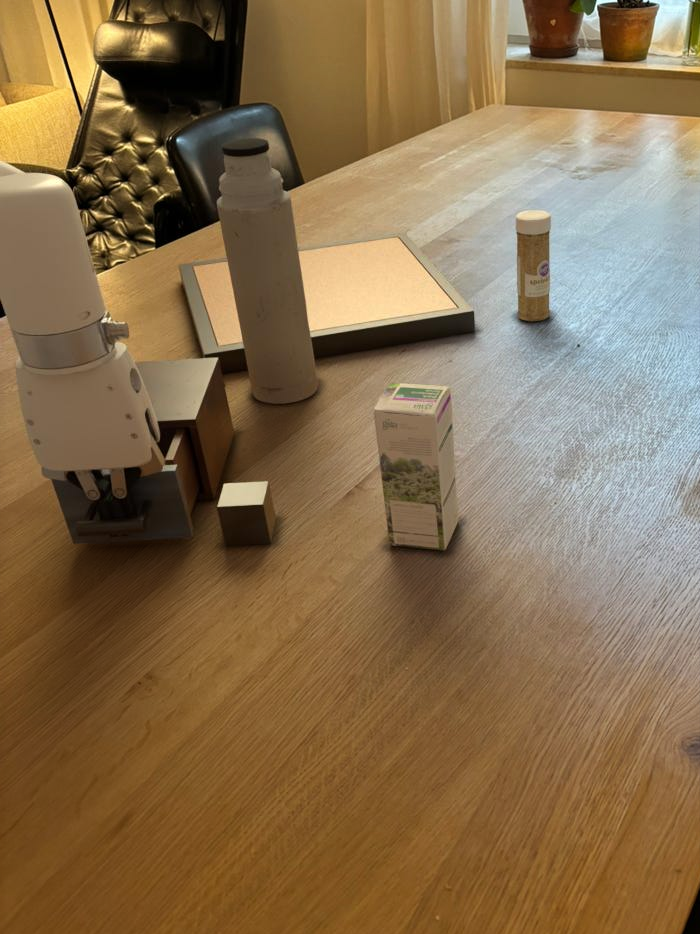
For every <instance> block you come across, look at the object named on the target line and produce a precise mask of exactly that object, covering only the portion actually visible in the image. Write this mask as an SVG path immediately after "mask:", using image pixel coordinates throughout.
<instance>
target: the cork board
mask: <svg viewBox="0 0 700 934" xmlns="http://www.w3.org/2000/svg"><path fill="white" fill-rule="evenodd" d="M298 252H299V259H300V265H301V272H302V279H303V286H304V293H305V300H306V308H307V316H308V323H309V329H310V335H311V341H312V348H313V354H314V359H319V358H324V357H325V358H326V357H330V356H331V357H333V356H338V355H342V354H349V353H355V352H361V351H367V350H372V349H380V348H385V347H390V346H396V345H397V346H398V345H402V344H403V345H404V344H410V343H415V342H421V341H427V340H433V339H439V338H445V337H451V336H457V335H464V334H469V333H475V332H476V323H475V322H476V321H475V318H476V317H475V311H474V309H473V308H472V307H471V306H470V305H469V304H468V303H467V301H466V300H465V299H464V297H462V295H461V294H460V293H459V292H458V291H457V290H456V289H455V288H454V287H453V285H452V283H450V282H449V281H448V279H446V277H445V276H444V275H443V274H442V273H441V272H440V271H439V269H438V268H437V267H436V265H434V264H433V262H431V260H430V259H429V257H427V256H426V254H425V253H424V252H423V251H422V250H421V249H420V247H418V246H417V244H416V243H415V242H414V240H412V239H411V238H410V236H409V235H408V234H407V232H400V233H399V232H397V233H392V234H385V235H377V236H370V237H364V238H363V237H362V238H357V239H349V240H343V241H336V242H335V241H334V242H328V243H322V244H315V245H314V244H313V245H307V246H300V247H299V246H298ZM177 266H178V271H179V275H180V279H181V285H182V287H183V291H184V294H185V298H186V301H187V305H188V308H189V312H190V316H191V318H192V322H193V326H194V329H195V333H196V337H197V341H198V344H199V347H200V350H201V354H202V358H217V357H218V358H219V362H220V367H221V371H222V375H223V374H229V373H235V372H240V371H241V372H242V371H248V366H247V361H246V356H245V351H244V345H243V340H242V335H241V330H240V324H239V319H238V314H237V308H236V303H235V298H234V293H233V287H232V282H231V277H230V272H229V266H228V261H227V257H223V258H216V259H208V260H200V261H195V262H187V263H181V264H178V265H177Z"/></svg>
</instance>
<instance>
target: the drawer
mask: <svg viewBox="0 0 700 934" xmlns="http://www.w3.org/2000/svg"><path fill="white" fill-rule="evenodd" d="M159 431H160V440H159V442H157V443H156V444H157V446H158V447H159V449H160V451H161V453H162V455H163V457H164V458H165V465H164V467H163V470H162V471H160V472H157V473H154V474H151V475H147V476H141V477H140V478H139V479H138V480H137V482H136V483H135V484H134V485H133V487H132V488H131V492H132V495H133V499H134V502H135V505H136V509H137V513H138V518H130V519H112V520H100V517H99V514H98V511H97V508H96V505H95V502H94V500H91V499H89V498H88V497H87V495H86V493H85V491H83V490H81V489H80V488H78V487H77V486H75V485H74V484H72V483H70V482H69V481H68V480H65V481H62V480H55V479H50V480H51V483H52V486H53V488H54V491H55V495H56V497H57V500H58V503H59V506H60V509H61V512H62V515H63V517H64V520H65V523H66V526H67V530H68V532H69V535H70V538H71V540H72V544H74V545H78V544H79V545H80V544H94V543H95V544H96V543H97V544H98V543H113V542H132V541H133V542H134V541H150V540H151V541H152V540H167V539H170V540H171V539H184V538H186V539H188V538H193V535H194V532H195V529H194V524H193V522H192V517H191V515H192V512H193V509H194V506H195V503H196V501H197V500H196V497H197V494H198V491H199V488H200V485H201V482H202V479H201V475H200V471H199V466H198V462H197V458H196V454H195V450H194V445H193V441H192V437H191V433H190V429H189V427H176V428H159ZM103 472H104V474H105V476H106V478H107V481H108V482H109V483H111V475H110V469H103ZM123 534H129V536H122V535H123ZM110 535H117V537H110Z"/></svg>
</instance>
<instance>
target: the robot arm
mask: <svg viewBox="0 0 700 934" xmlns="http://www.w3.org/2000/svg"><path fill="white" fill-rule="evenodd" d="M0 302H1V304H2V308H3V311H4V314H5V316H6V320H7V323H8V325H9V328H10V331H11V334H12V337H13V341H14V343H15V346H16V349H17V352H18V356H17V359H16V360H15V363H14V364H15V365H14V366H15V375H16V376H15V377H16V385H17V393H18V397H19V398H18V399H19V404H20V409H21V413H22V417H23V422H24V425H25V429H26V432H27V437H28V439H29V443H30V446H31V449H32V452H33V455H34V457H35V459H36V461H37V463H38V465H39V466H40V467H41V475H42V477H44V478H46V479H49V480H51V479H55V480H62V481H65V480H68V481H69V482H70V483H72V484H74V485H75V486H77V487H78V488H80V489H81V490H83V491H85V493H86V495H87V497H88V498H89V499H91V500H94V502H95V505H96V508H97V511H98V514H99V517H100V520H112V519H130V518H138V513H137V509H136V505H135V502H134V499H133V495H132V492H131V488H132V487H133V485H134V484H135V483H136V482H137V480H138V479H139V478H140V477H141V476H147V475H151V474H154V473H157V472H160V471H162V470H163V467H164V465H165V458H164V457H163V455H162V453H161V451H160V449H159V447H158V446H157V444H156V443H157V442H159V440H160V431H159V427H158V423H157V419H156V416H155V413H154V410H153V407H152V404H151V401H150V399H149V396H148V393H147V390H146V388H145V385H144V383H143V380H142V378H141V375H140V373H139V371H138V368H137V366H136V364H135V362H136V361H135V359H134V358H133V356H132V353H131V352H130V350H129V348H128V346H127V344H125V343H124V342H121V340H127V339H129V338H130V329H129V325H128V323H127V321H118V320H113V317H111V314H110V310H107V309H106V304H105V301H104V297H103V295H102V290H101V287H100V283H99V280H98V276H97V271H96V269H95V264H94V262H93V258H92V253H91V250H90V247H89V243H88V240H87V236H86V232H85V228H84V225H83V222H82V218H81V214H80V210H79V207H78V203H77V200H76V197H75V194H74V192H73V190H72V188H71V187H70V185H69V184H68V183H67V182H66V181H65V180H63V179H62V178H61V177H59V176H57V175H53V174H49V173H44V172H43V173H42V172H25V171H23V170H21V169H19V168H17V167H16V166H14V165H11V164H9V163H8V162H5V161H2V160H0ZM147 419H148V420H147ZM103 469H110V475H111V483H109V482H108V481H107V478H106V476H105V474H104V472H103ZM122 536H129V534H123V535H122ZM110 537H117V535H110Z"/></svg>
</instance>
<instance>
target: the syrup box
mask: <svg viewBox="0 0 700 934" xmlns="http://www.w3.org/2000/svg"><path fill="white" fill-rule="evenodd" d="M373 418H374V426H375V434H376V443H377V450H378V461H379V468H380V478H381V485H382V494H383V503H384V510H385V511H384V512H385V518H386V528H387V535H388V537H387V538H388V544H389V546H391V547H392V546H394V547H405V548H414V549H422V550H423V549H425V550H433V551H445V550H446V549H447V547H448V546H449V543H450V542H451V539H452V537H453V534H454V532H455V529H456V528H457V525H458V523H459V520H460V515H459V503H458V494H457V479H456V462H455V460H456V459H455V442H454V441H455V440H454V423H453V422H454V420H453V403H452V391H451V388H450V386H448V385H447V386H446V385H434V384H433V385H432V384H418V383H417V384H416V383H403V382H390V384H388V386H387V387H386V388H385V390H384V391H383V392H382V394H381V396H379V399H378V401H377V402H376V404H375V406H374V407H373Z"/></svg>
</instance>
